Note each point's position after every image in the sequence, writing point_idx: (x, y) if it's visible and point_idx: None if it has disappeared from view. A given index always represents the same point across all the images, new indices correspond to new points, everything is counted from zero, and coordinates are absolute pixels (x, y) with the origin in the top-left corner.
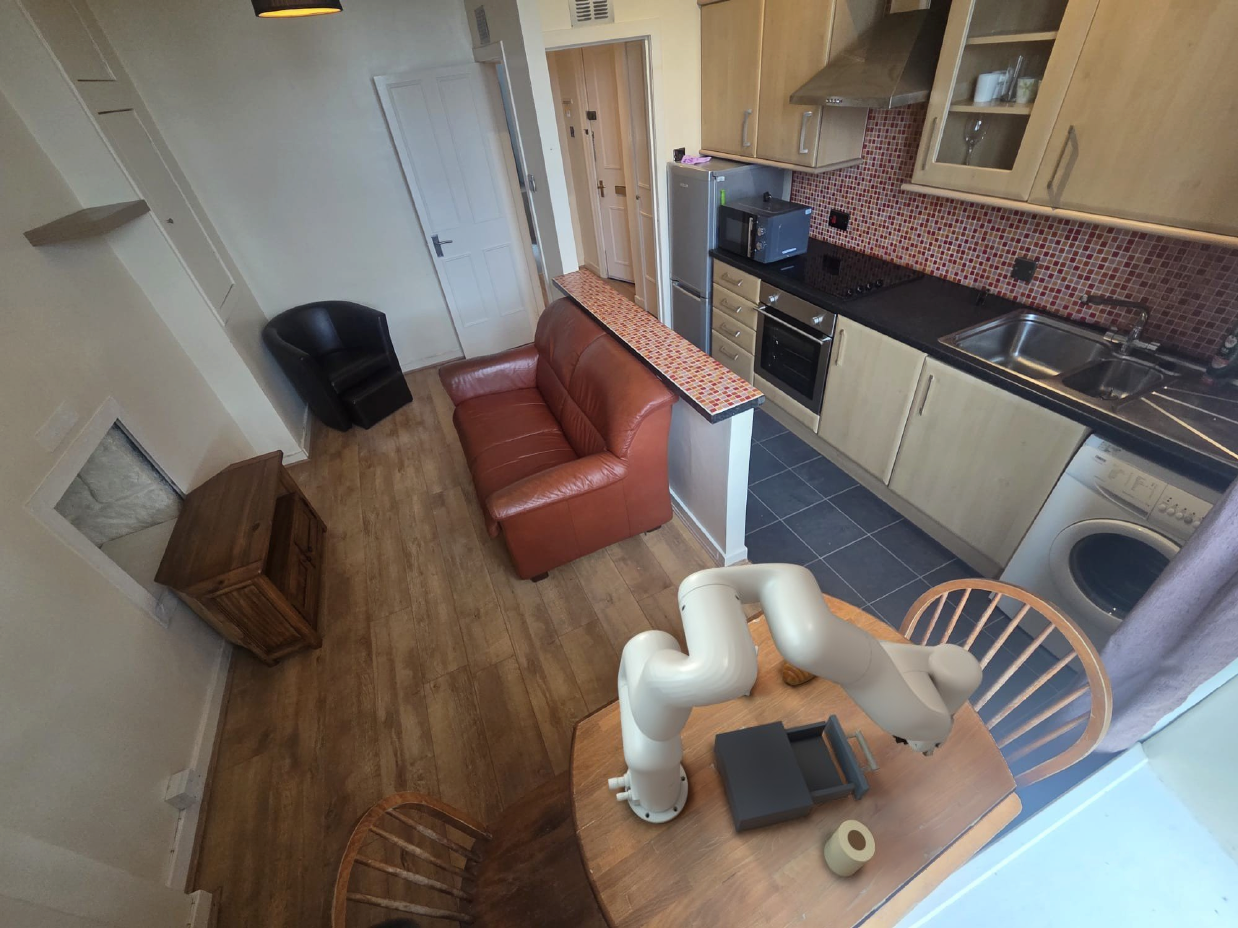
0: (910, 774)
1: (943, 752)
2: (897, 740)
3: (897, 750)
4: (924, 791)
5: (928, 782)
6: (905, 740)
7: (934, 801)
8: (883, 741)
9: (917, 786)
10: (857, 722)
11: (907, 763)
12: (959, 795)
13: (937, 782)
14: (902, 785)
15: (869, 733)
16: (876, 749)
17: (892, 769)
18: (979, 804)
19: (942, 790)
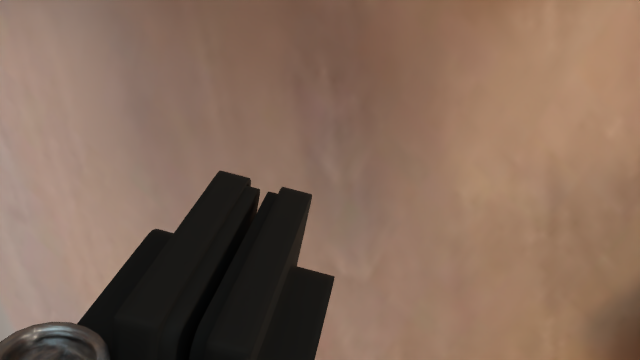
0: (188, 114)
1: None
2: (206, 201)
3: (321, 147)
4: (95, 115)
5: (129, 167)
6: (123, 286)
7: (43, 124)
8: (400, 111)
9: (125, 101)
10: (593, 42)
11: (242, 143)
12: (49, 244)
13: (119, 205)
14: (149, 26)
15: (486, 66)
16: (381, 33)
17: (243, 38)
18: (5, 283)
19: (82, 197)
